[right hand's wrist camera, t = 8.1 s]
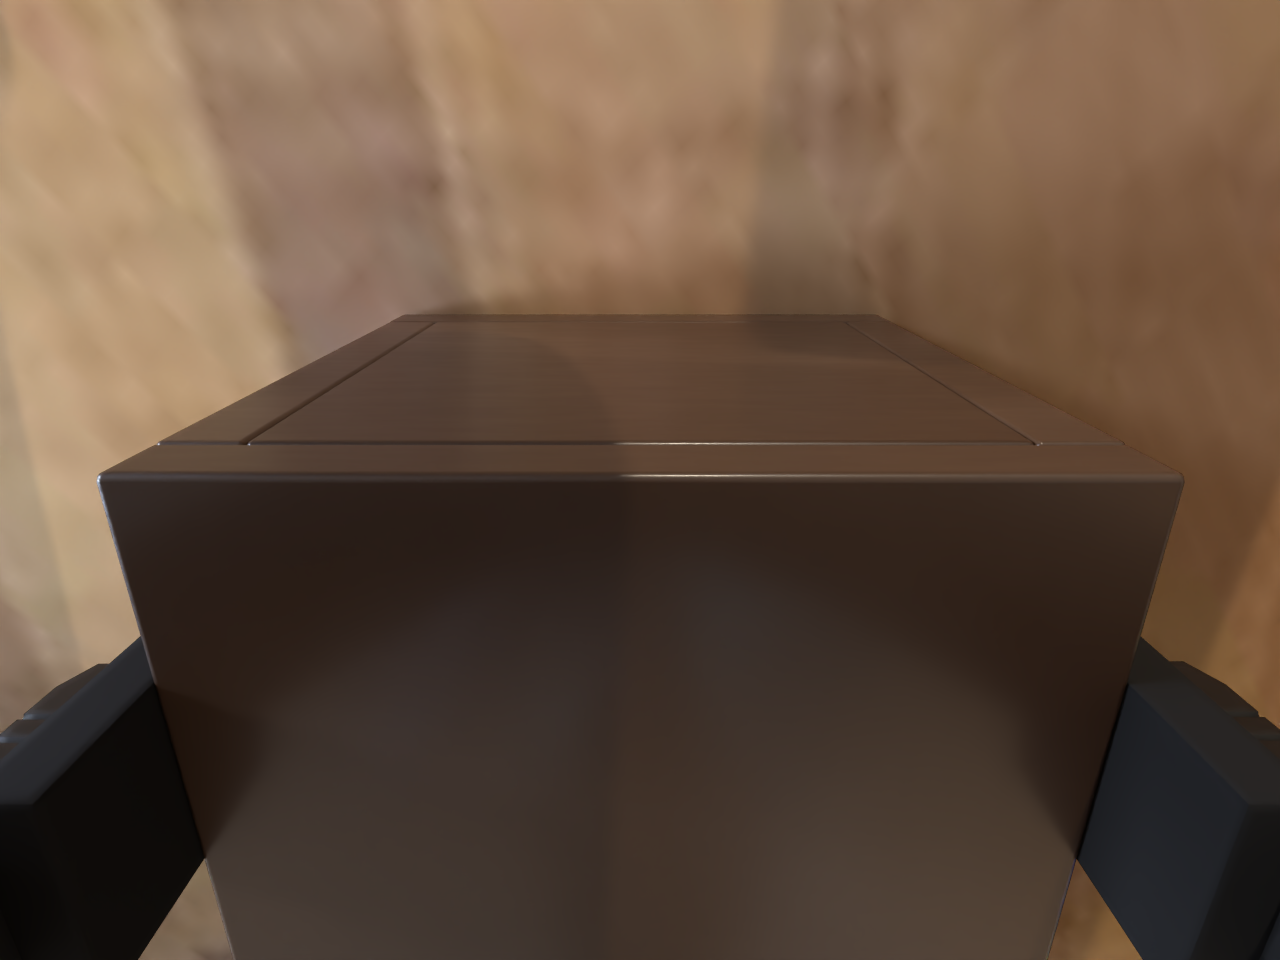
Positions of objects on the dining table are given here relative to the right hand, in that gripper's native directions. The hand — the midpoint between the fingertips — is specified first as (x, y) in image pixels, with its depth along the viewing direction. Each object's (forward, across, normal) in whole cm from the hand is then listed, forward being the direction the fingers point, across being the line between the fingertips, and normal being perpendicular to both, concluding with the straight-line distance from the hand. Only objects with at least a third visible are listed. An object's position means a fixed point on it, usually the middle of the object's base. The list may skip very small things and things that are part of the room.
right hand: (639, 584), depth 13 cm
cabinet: (+6, 0, -7) cm, 9 cm away
